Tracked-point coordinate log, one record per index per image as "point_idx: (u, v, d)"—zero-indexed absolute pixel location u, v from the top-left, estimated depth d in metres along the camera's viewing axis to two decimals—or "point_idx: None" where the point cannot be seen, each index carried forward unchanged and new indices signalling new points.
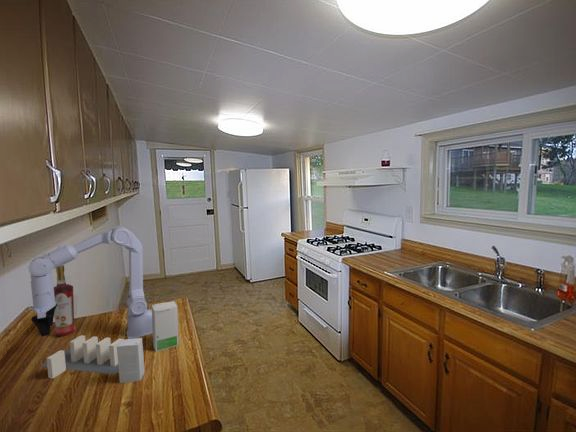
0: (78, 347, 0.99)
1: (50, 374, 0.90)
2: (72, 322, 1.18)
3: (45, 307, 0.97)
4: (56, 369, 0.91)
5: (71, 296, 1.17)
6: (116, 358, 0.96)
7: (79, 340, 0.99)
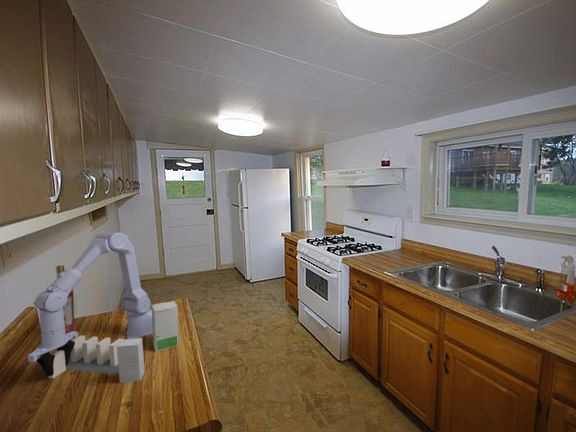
0: (78, 347, 0.99)
1: None
2: (72, 322, 1.18)
3: (46, 347, 0.88)
4: (56, 369, 0.91)
5: (71, 296, 1.17)
6: (116, 358, 0.96)
7: (79, 340, 0.99)
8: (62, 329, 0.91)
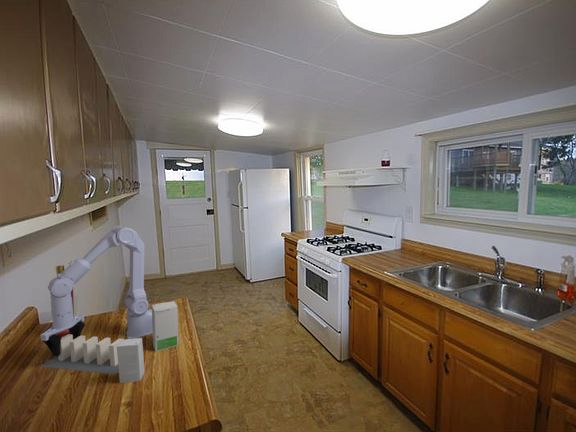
0: (78, 347, 0.99)
1: (60, 355, 0.99)
2: None
3: (57, 328, 0.97)
4: (65, 351, 1.00)
5: (71, 296, 1.17)
6: (116, 358, 0.96)
7: (79, 340, 0.99)
8: (71, 312, 1.00)
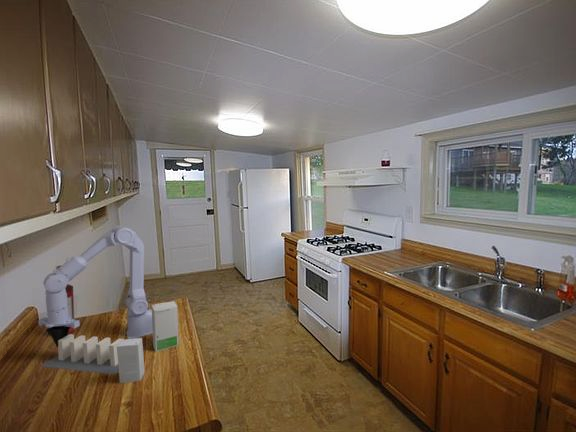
0: (78, 347, 0.99)
1: (60, 355, 0.99)
2: None
3: (67, 320, 1.00)
4: (66, 351, 1.00)
5: (71, 296, 1.17)
6: (116, 358, 0.96)
7: (79, 340, 0.99)
8: None
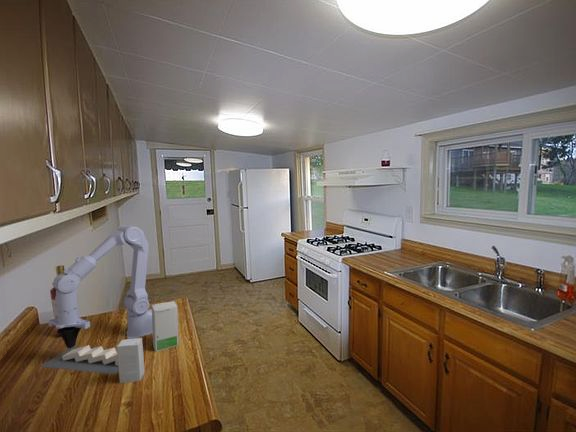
0: None
1: (66, 357, 0.98)
2: None
3: (78, 321, 1.00)
4: None
5: None
6: None
7: None
8: None
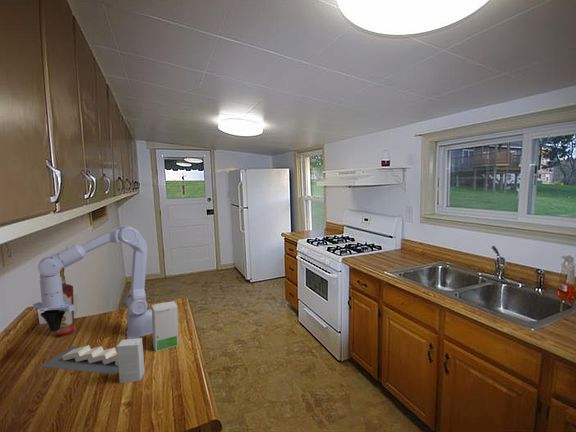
0: None
1: (66, 357, 0.98)
2: (72, 322, 1.18)
3: (62, 304, 1.00)
4: None
5: (71, 296, 1.17)
6: None
7: None
8: None
